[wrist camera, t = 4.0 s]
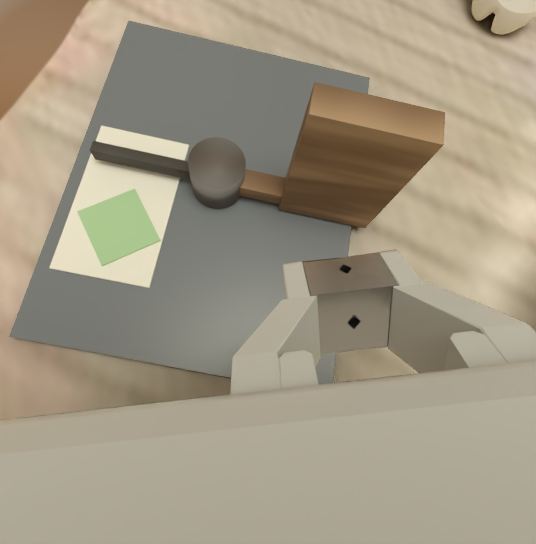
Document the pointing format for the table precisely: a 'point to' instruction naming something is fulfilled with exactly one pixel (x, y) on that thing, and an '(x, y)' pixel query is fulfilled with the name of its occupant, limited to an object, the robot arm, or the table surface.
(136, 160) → the lever
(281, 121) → the tuner board
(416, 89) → the table surface
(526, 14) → the water bottle
